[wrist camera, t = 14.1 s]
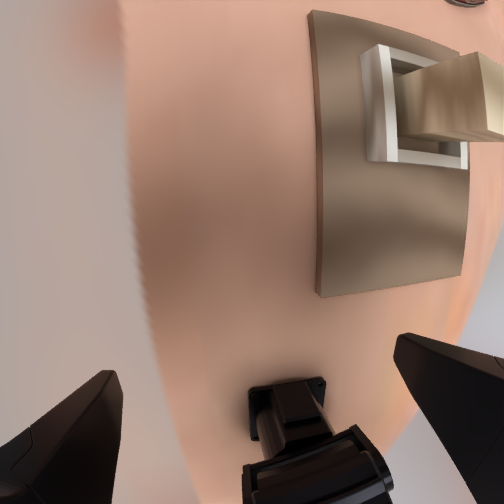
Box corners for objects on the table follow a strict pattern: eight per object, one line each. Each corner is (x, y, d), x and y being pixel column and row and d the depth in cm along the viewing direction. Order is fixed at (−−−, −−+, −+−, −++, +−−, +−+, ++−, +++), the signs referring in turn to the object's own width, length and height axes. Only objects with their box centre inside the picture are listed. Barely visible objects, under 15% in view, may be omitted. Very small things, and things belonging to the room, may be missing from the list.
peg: (429, 142, 19) (525, 143, 11) (387, 136, 19) (487, 130, 10) (426, 92, 18) (517, 75, 10) (384, 82, 18) (477, 51, 9)
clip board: (453, 272, 24) (479, 284, 20) (315, 292, 22) (334, 313, 18) (451, 54, 18) (478, 46, 15) (307, 15, 16) (325, -7, 13)
